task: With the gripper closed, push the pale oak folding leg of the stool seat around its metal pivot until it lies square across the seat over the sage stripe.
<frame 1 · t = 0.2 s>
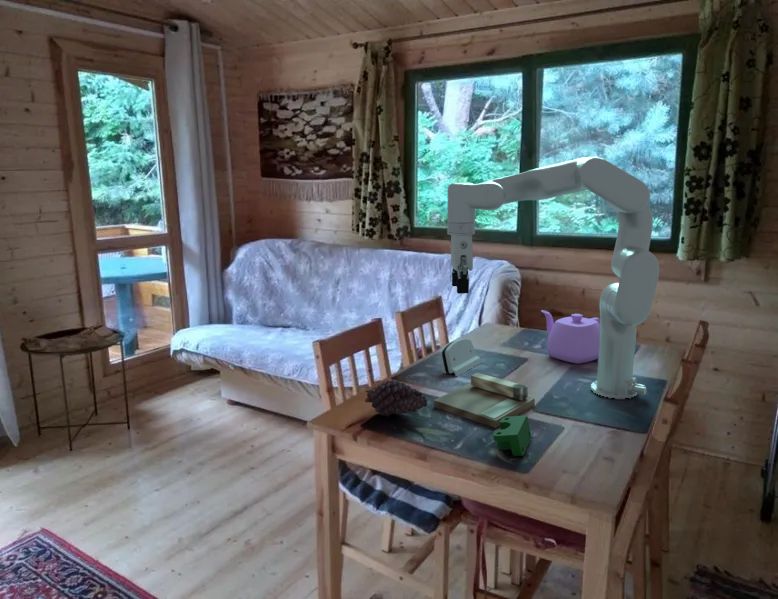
hand: (460, 289, 165), 30 cm above the table, tool pointing down, fingers open, 9 cm apart
folding leg: (499, 386, 164), point 4 cm above the table, hinge at 0.0°
pine cone: (394, 416, 156), on the table
teapot: (572, 357, 200), on the table
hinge: (459, 368, 192), on the table
clamp: (511, 447, 138), on the table
stool seat: (484, 406, 161), on the table
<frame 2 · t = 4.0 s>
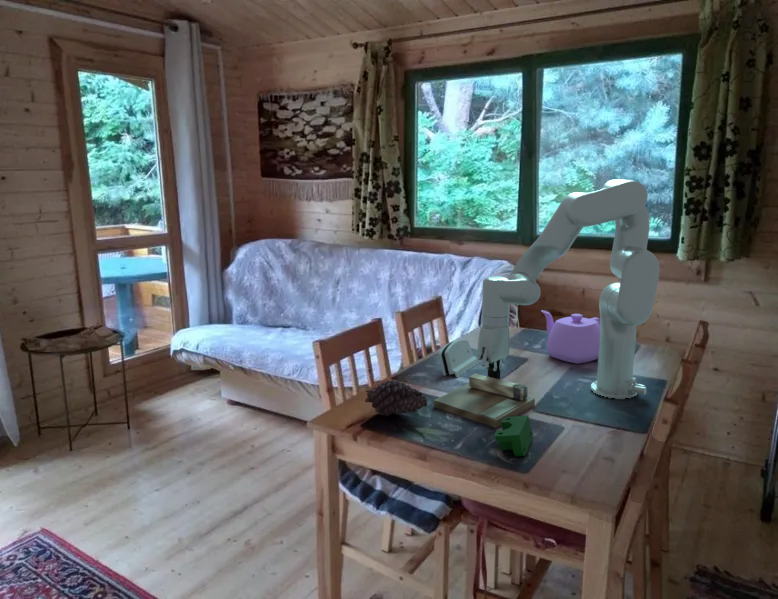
hand: (493, 382, 169), 3 cm above the table, tool pointing down, fingers closed
folding leg: (498, 386, 164), point 4 cm above the table, hinge at 4.1°, touching gripper
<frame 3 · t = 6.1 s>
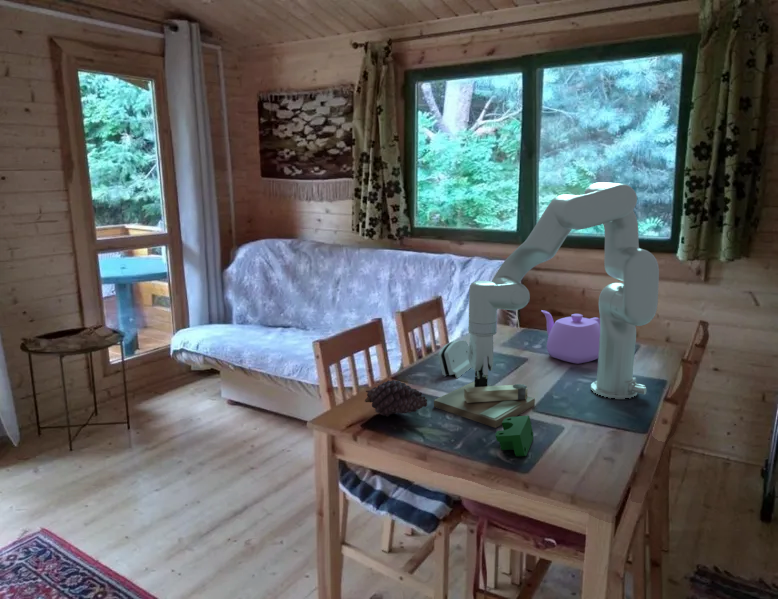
hand: (480, 390, 162), 4 cm above the table, tool pointing down, fingers closed
folding leg: (496, 393, 159), point 4 cm above the table, hinge at 50.1°, touching gripper
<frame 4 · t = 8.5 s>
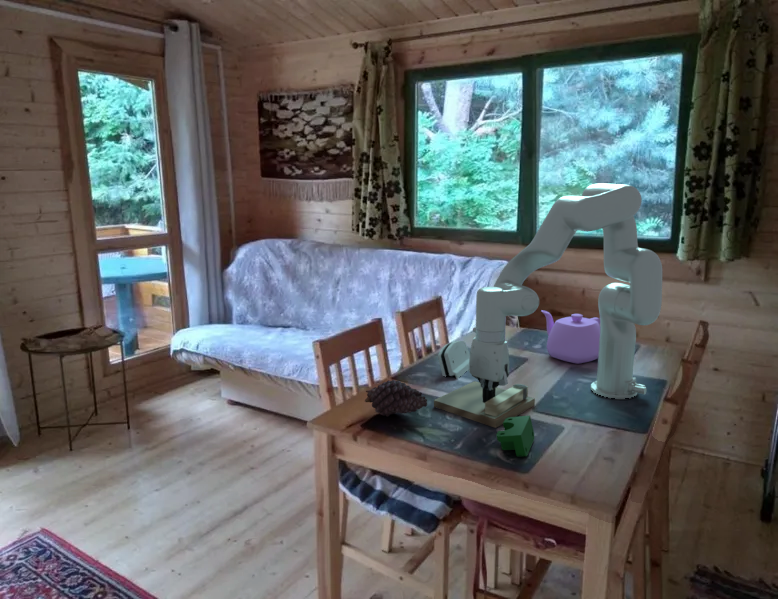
hand: (488, 401, 155), 3 cm above the table, tool pointing down, fingers closed
folding leg: (507, 399, 155), point 4 cm above the table, hinge at 92.3°
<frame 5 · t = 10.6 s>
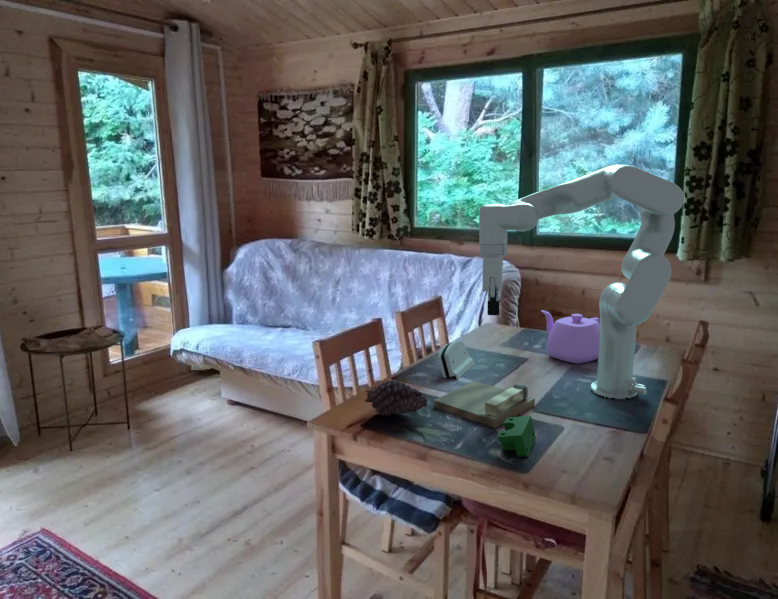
hand: (493, 314, 165), 23 cm above the table, tool pointing down, fingers closed
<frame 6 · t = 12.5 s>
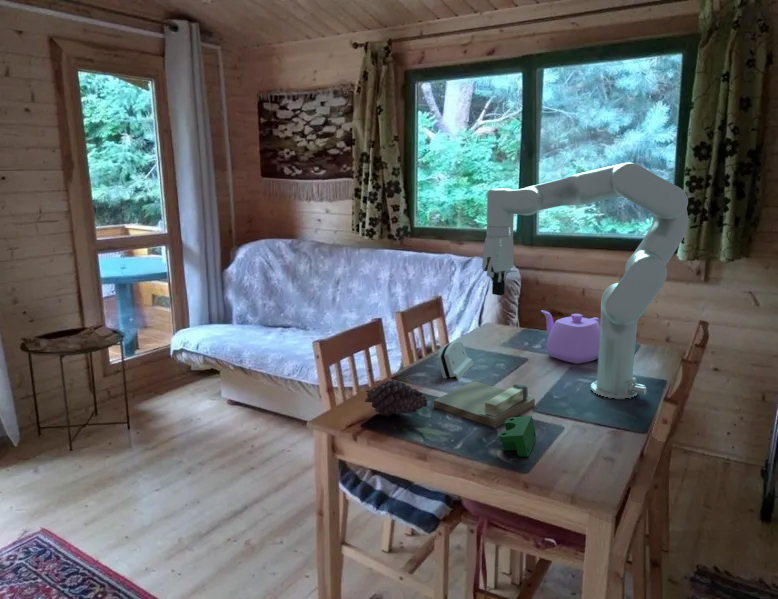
hand: (498, 294, 173), 27 cm above the table, tool pointing down, fingers closed
at the end: folding leg at +92° (first picture: +0°); pine cone moved 0.2 cm from its start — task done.
